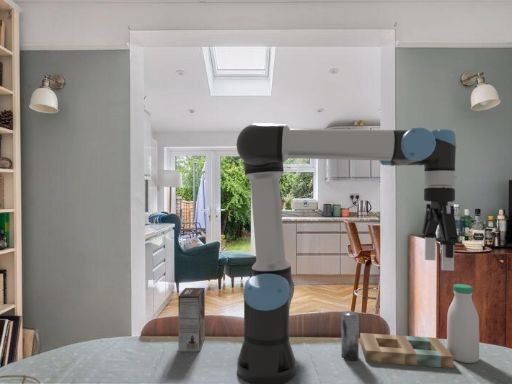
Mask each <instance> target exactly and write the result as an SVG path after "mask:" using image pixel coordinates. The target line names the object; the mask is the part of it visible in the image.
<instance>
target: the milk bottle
mask: <svg viewBox="0 0 512 384" xmlns="http://www.w3.org/2000/svg"><path fill="white" fill-rule="evenodd" d="M452 286H453V294H454V296H453V299H452V301H451V303H450V305H449V307H448V310H447V314H446V315H447V318H446V321H447V322H446V349H447V350H448V351H449V352H450V353H451V355H452V356H453V361H454V360H455V361H457V362H460V363H464V364H475V363H477V362H479V361H480V318H479V314H478V313H479V312H478V310H477V308H476V306H475V304H474V301H473V298H472V295H473V289H474V288H473V286H471V285H469V284H464V283H463V284H462V283H456V284H455V283H454V284H453V285H452Z"/></svg>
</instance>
